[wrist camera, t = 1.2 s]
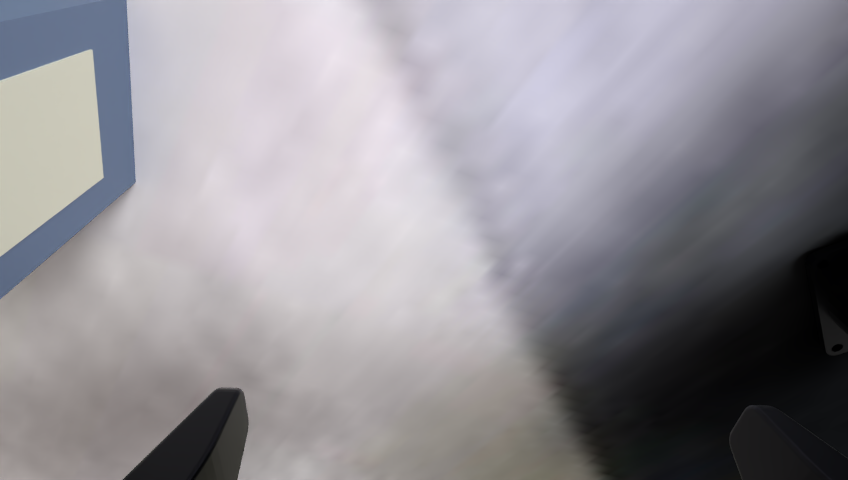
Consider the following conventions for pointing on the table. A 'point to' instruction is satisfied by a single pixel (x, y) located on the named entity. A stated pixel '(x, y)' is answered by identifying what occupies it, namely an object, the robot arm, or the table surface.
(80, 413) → the table surface
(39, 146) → the box
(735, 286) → the table surface
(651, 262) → the table surface
